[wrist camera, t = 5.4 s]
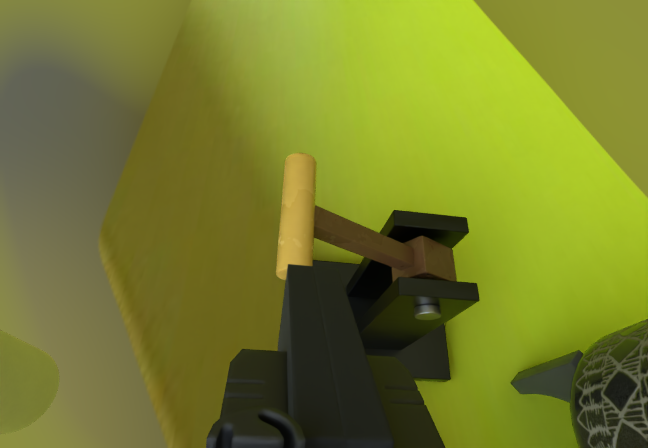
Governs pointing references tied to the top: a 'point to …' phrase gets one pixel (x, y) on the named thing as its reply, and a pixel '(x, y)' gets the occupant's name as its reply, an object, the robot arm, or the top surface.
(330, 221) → the lever
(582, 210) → the top surface
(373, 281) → the bracket
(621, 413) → the planter
